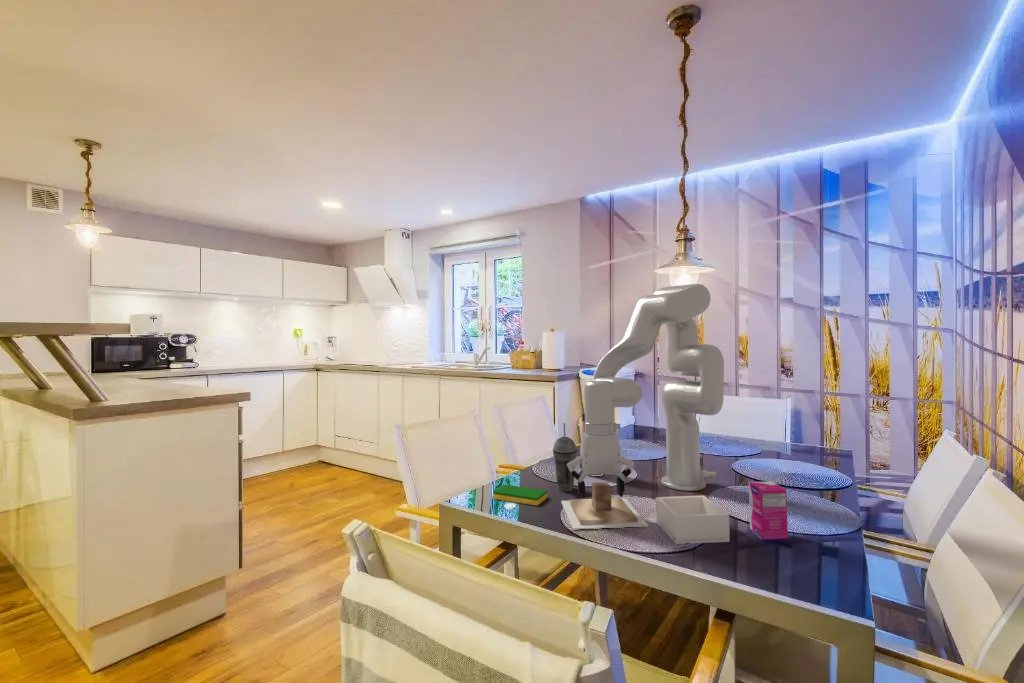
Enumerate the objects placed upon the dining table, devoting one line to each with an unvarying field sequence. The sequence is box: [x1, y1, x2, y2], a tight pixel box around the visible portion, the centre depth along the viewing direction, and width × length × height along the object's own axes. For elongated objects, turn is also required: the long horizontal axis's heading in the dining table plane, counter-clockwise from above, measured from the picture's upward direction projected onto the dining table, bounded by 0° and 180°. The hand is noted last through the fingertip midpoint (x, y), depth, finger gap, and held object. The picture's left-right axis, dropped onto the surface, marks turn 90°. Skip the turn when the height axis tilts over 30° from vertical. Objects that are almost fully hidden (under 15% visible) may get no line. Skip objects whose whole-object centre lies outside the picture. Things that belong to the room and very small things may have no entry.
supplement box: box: [748, 480, 789, 542], centre depth 102 cm, size 6×6×12 cm
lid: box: [569, 481, 638, 525], centre depth 117 cm, size 14×14×7 cm
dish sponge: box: [493, 484, 548, 507], centre depth 130 cm, size 7×14×2 cm, turn 63°
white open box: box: [655, 495, 731, 545], centre depth 106 cm, size 12×12×6 cm
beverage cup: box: [552, 422, 578, 492], centre depth 136 cm, size 7×7×20 cm
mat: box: [560, 497, 649, 530], centre depth 117 cm, size 18×18×1 cm
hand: (601, 495), depth 117 cm, fingers open, 9 cm apart
